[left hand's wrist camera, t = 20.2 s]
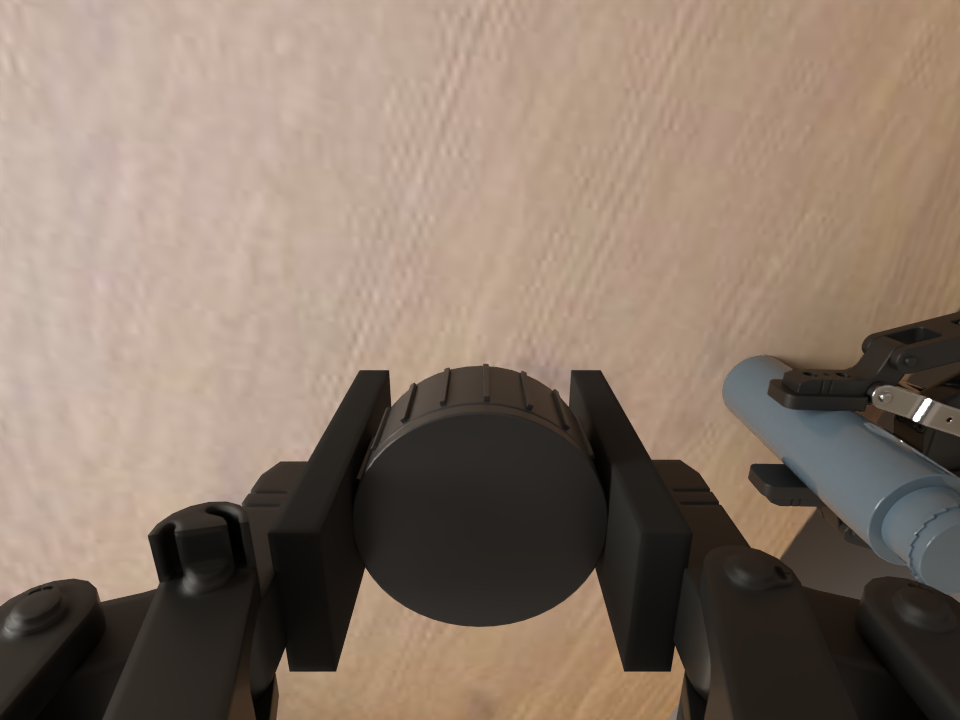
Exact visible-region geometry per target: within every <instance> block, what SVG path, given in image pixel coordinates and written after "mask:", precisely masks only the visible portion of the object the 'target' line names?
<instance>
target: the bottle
mask: <svg viewBox="0 0 960 720" xmlns="http://www.w3.org/2000/svg"><path fill="white" fill-rule="evenodd" d="M791 370H794V369H793V368H791V367H790V366H788V365H786V364H785V363H783V362H782V361H780V360H779V359H777V358H774V357H771V356H756V357H752V358H749V359H746V360H744V361H742V362H741V363H739V364H738V365H737V366H735V367H734V368H733V369H732V371H731V372H730V373H729V374H728V376H727V378H726V380H725V382H724V386H723V399H724V402H725V405H726V406H727V408H728V409H729V410H730V411H731V412H732V413H733V414H734V415H735V416H736V417H737V418H738V419H739V420H740V421H741V422H742V423H743V424H744V425H745V426H746V427H747V428H748V429H749V430H750V431H751V432H752V433H753V434H754V435H755V436H756V437H757V438H758V439H759V440H760V441H761V442H762V443H763V444H764V445H765V446H766V447H767V448H768V449H769V450H770V451H771V452H772V453H773V454H774V455H776V456H777V457H778V458H779V459H780V460H781V461H782V462H783V463H784V464H785V465H786V466H787V467H788V468H789V469H790V470H791V471H792V472H793V473H794V474H795V475H796V476H797V477H798V478H799V479H800V480H801V481H802V482H803V483H804V484H805V485H806V486H807V487H808V488H809V489H810V490H811V491H812V492H813V493H814V494H815V495H816V496H817V497H818V498H819V499H820V500H821V501H822V502H823V503H824V504H826V505H827V506H828V507H829V508H830V509H831V510H832V511H833V512H834V513H835V514H836V515H837V516H838V517H839V518H840V519H841V520H842V521H843V522H844V523H845V524H846V525H847V526H848V527H849V528H850V529H851V530H852V531H853V532H854V533H855V534H856V535H857V536H858V537H859V538H860V539H861V540H862V541H863V542H864V543H865V544H866V545H867V546H868V547H869V548H870V549H871V550H872V551H873V552H874V553H876V554H877V555H878V556H879V557H880V558H882V559H884V560H885V561H888V562H890V563H893V564H898V565H905V566H907V567H908V568H909V569H910V571H911V574H912V575H913V576H914V577H915V578H916V579H917V580H918V581H919V582H920V583H923V584H926V585H928V586H931V587H933V588H935V589H937V590H939V591H941V592H943V593H946V594H947V595H950V594H959V593H960V477H958V476H957V475H955V474H954V473H952V472H951V471H949V470H948V469H946V468H944V467H943V466H941V465H940V464H938V463H937V462H935V461H934V460H932V459H931V458H929V457H928V456H926V455H925V454H923V453H921V452H920V451H918V450H917V449H915V448H914V447H912V446H911V445H909V444H908V443H906V442H905V441H903V440H902V439H900V438H898V437H897V436H895V435H894V434H892V433H891V432H889V431H888V430H886V429H885V428H883V427H882V426H880V425H878V424H877V423H875V422H874V421H872V420H871V419H869V418H868V417H866V416H865V415H863V414H862V413H860V412H859V411H826V410H793V409H788V408H785V407H783V406H781V405H780V404H779V403H778V402H776V401H775V400H774V399H772V398H771V397H770V396H769V395H768V394H767V391H768V387H769V382H770V380H771V379H783V376H784V373H785V372H788V371H791Z"/></svg>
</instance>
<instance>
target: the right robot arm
mask: <svg viewBox="0 0 960 720" xmlns="http://www.w3.org/2000/svg"><path fill="white" fill-rule="evenodd" d="M862 351H863V353H864V355H863V356H862V358H861V359H860V361H859V362H858V363H857V364H856V365H855V366H854V367H851V368H848V369H847V370H814V369H808V370H807V369H794V370H791V371H788V372H785V373H784V376H783V379H771V380H770V382H769V387H768V391H767V394H768V395H769V396H770V397H771V398H772V399H774V400H775V401H776V402H778V403H779V404H780V405H781V406H783V407H785V408H788V409H793V410H826V411H865V408H866V405H867V404H869V405H873V406H875V407H876V408H878V409H881V410H885V411H888V412H891V413H894V414H896V415H895V418H894V433H893V434H894V435H895V436H897V437H898V438H900V439H902V440H903V441H905V442H906V443H908V444H909V445H911V446H912V447H914V448H915V449H917V450H918V451H920V452H921V453H923V454H925V455H926V456H928V457H929V458H931V459H932V460H934V461H935V462H937V463H938V464H940V465H941V466H943V467H944V468H946V469H948V470H949V471H951V472H952V473H954V474H955V475H957V476H958V477H960V370H959V371H958V372H956V373H954V374H952V375H950V376H948V377H947V378H945V379H943V380H941V381H939V382H937V383H935V384H933V385H932V386H930V387H928V388H923V387H920V386H917V385H914V384H911V383H908V382H905V381H902V380H901V379H902V377H903V376H904V375H905V374H909V373H914V372H918V371H922V370H926V369H930V368H934V367H938V366H942V365H946V364H950V363H954V362H958V361H960V312H956V313H952V314H948V315H945V316H941V317H937V318H933V319H929V320H925V321H921V322H917V323H913V324H909V325H905V326H902V327H898V328H894V329H890V330H886V331H882V332H878V333H874V334H871V335H869V336H868V337H867V338H866V339H865V340H864V341H863V344H862ZM748 479H749V480H750V481H751V483H752V484H753V485H754V486H755V487H756V488H757V490H758V491H759V492H760V493H761V494H762V495H764V496H766V497H767V498H768V500H769V501H770V502H771V503H774V504H776V505H779V506H813V507H817V511H818V512H819V513H820V514H821V515H822V516H823V517H824V518H825V519H827V520H828V521H829V522H830V523H831V524H832V525H833V526H834V527H835V528H836V529H837V530H838V531H839V533H840V535H841V536H842V537H843V538H844V539H845V540H846V541H847V542H849V543H852V544H856V545H859V546H863V547H866V548H869V547H868V546H867V545H866V544H865V543H864V542H863V541H862V540H861V539H860V538H859V537H858V536H857V535H856V534H855V533H854V532H853V531H852V530H851V529H850V528H849V527H848V526H847V525H846V524H845V523H844V522H843V521H842V520H841V519H840V518H839V517H838V516H837V515H836V514H835V513H834V512H833V511H832V510H831V509H830V508H829V507H828V506H827V505H826V504H824V503H823V502H822V501H821V500H820V499H819V498H818V497H817V496H816V495H815V494H814V493H813V492H812V491H811V490H810V489H809V488H808V487H807V486H806V485H805V484H804V483H803V482H802V481H801V480H800V479H799V478H798V477H797V476H796V475H795V474H794V473H793V472H792V471H791V470H790V469H789V468H788V467H787V466H786V465H785V464H752V465H751V467H750V471H749V476H748ZM869 549H870V548H869Z"/></svg>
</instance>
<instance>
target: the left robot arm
mask: <svg viewBox="0 0 960 720" xmlns="http://www.w3.org/2000/svg"><path fill="white" fill-rule="evenodd" d="M387 407H389V408H390V409H391V395H390V379H389V370H360V371H359V373H358V374H357V376H356V378H355V380H354V381H353V383H352V385H351V387H350V388H349V390H348V392H347V394H346V395H345V397H344V399H343V401H342V402H341V404H340V406H339V408H338V409H337V411H336V413H335V415H334V417H333V418H332V420H331V422H330V424H329V425H328V427H327V429H326V431H325V432H324V434H323V436H322V438H321V439H320V441H319V443H318V445H317V446H316V448H315V450H314V452H313V454H312V455H311V457H310V459H309V461H308V462H279V463H278V464H277V465H275V466H274V467H272V468H271V469H269V470H268V471H267V472H265V473H264V474H262V475H261V477H260V478H259V479H258V481H257V482H256V484H255V485H254V487H253V488H252V490H251V494H248V495H247V497H246V498H245V500H244V501H243V503H242V507H241V506H240V505H237V504H233V503H230V502H207V503H203V504H198V505H194V506H190V507H187V508H185V509H183V510H180V511H178V512H176V513H173V514H171V515H170V516H168V517H167V518H165V519H164V520H163V521H161V522H160V523H158V524H157V525H156V526H155V527H154V529H153V530H152V531H151V532H150V534H149V535H148V538H149V542H150V546H151V550H152V554H153V558H154V562H155V566H156V570H157V574H158V578H159V582H160V583H159V586H158V588H157V589H154V590H151V591H147V592H144V593H140V594H135V595H131V596H126V597H122V598H117V599H113V600H108V601H104V602H100V599H99V595H98V592H97V589H96V588H95V587H94V586H93V585H92V584H91V583H90V582H89V581H84V580H78V579H67V580H59V581H53V582H49V583H46V584H43V585H39V586H37V587H34V588H31V589H29V590H27V591H25V592H23V593H21V594H19V595H17V596H16V597H14V598H12V599H10V600H8V601H7V602H6V603H4V604H3V605H2V606H0V720H276V716H277V707H278V698H279V693H278V685H277V679H276V673H275V672H276V670H277V667H278V665H279V662H280V660H281V657H282V655H283V652H284V650H285V647H286V652H287V658H288V664H289V671H290V672H318V671H336V670H337V666H338V663H339V659H340V655H341V652H342V648H343V645H344V641H345V638H346V634H347V630H348V627H349V623H350V620H351V616H352V613H353V609H354V605H355V602H356V598H357V595H358V591H359V588H360V584H361V581H362V577H363V573H364V570H365V566H364V564H363V562H362V560H361V558H360V556H359V553H358V550H357V547H356V544H355V541H354V531H353V521H352V508H353V502H354V497H355V493H356V490H357V487H358V483H356V478H357V475H358V473H359V470H360V467H361V465H362V462H363V460H364V457H365V454H366V452H367V449H368V447H369V444H370V442H371V439H372V437H375V436H376V433H377V431H378V428H379V425H380V423H381V420H382V417H383V415H384V412H385V410H386V408H387ZM569 408H570V410H571V411H572V413H573V414H574V416H575V417H576V416H578V415H579V417H580V419H581V421H582V424H583V427H584V429H585V432H586V434H587V437H588V440H589V442H590V445H591V447H592V450H593V452H594V455H595V459H593V461H594V464H595V467H596V469H597V472H598V475H599V478H600V480H601V483H602V485H603V488H604V492H605V496H606V499H607V505H608V524H607V535H606V542H605V546H604V548H603V551H602V554H601V557H600V559H599V561H598V562H597V564H596V566H595V569H596V572H597V576H598V579H599V583H600V587H601V590H602V594H603V597H604V601H605V604H606V608H607V611H608V615H609V619H610V622H611V626H612V629H613V633H614V636H615V640H616V643H617V647H618V651H619V654H620V658H621V661H622V665H623V668H624V671H655V672H671V667H672V660H673V654H674V648H675V646H676V649H677V651H678V654H679V656H680V659H681V661H682V663H683V666H684V668H685V673H684V679H683V685H682V691H681V696H680V702H679V708H678V714H677V720H960V603H959V602H958V601H956V600H955V599H954V598H952V597H951V596H949V595H947V594H945V593H943V592H941V591H939V590H937V589H935V588H933V587H931V586H928V585H926V584H923V583H919V582H917V581H913V580H910V579H905V578H897V577H889V576H887V577H881V578H875V579H872V580H871V581H870V582H869V583H868V584H867V585H865V587H864V590H863V593H862V597H861V600H858V599H854V598H849V597H845V596H840V595H836V594H831V593H827V592H822V591H818V590H814V589H811V588H808V587H804V586H802V585H801V582H800V581H799V579H798V578H797V577H796V575H795V574H794V572H793V571H792V569H790V568H789V567H788V566H786V565H785V564H784V563H783V562H781V561H780V560H779V559H777V558H775V557H773V556H771V555H769V554H767V553H765V552H763V551H761V550H757V549H753V548H751V547H750V546H749V544H748V543H747V541H746V540H745V539H744V537H743V536H742V534H741V533H740V531H739V530H738V529H737V527H736V526H735V524H734V523H733V521H732V520H731V518H730V517H729V516H728V514H727V513H726V511H725V510H724V508H723V507H722V505H719V501H718V500H717V498H716V497H715V495H714V494H713V493H712V492H710V488H709V487H708V485H707V484H706V482H705V481H704V480H703V478H702V477H701V475H700V474H699V473H698V472H697V471H695V470H694V469H692V468H691V467H689V466H688V465H687V464H685V463H684V462H682V461H681V460H651V458H650V456H649V455H648V453H647V451H646V449H645V448H644V446H643V444H642V442H641V441H640V439H639V437H638V435H637V434H636V432H635V430H634V428H633V426H632V425H631V423H630V421H629V419H628V418H627V416H626V414H625V412H624V411H623V409H622V407H621V405H620V404H619V402H618V400H617V398H616V397H615V395H614V393H613V391H612V390H611V388H610V386H609V384H608V382H607V381H606V379H605V377H604V375H603V374H602V372H601V370H571V384H570V400H569Z"/></svg>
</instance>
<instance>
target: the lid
mask: <svg viewBox="0 0 960 720" xmlns="http://www.w3.org/2000/svg"><path fill="white" fill-rule="evenodd" d="M593 459H595V455H594V452H593V450H592V447H591V445H590V442H589V440H588V437H587V434H586V432H585V429H584V427H583V424H582V421H581V419H580V417H579V415H578V416H576V417H575V416H574V414H573V413H572V411H571V410H570V408H569V407H568V406H567V405H566V403H565V402H564V401H563V400H562V399H561V398H560V395H559V392H558V391H557V390H556V389H554V390H553V391H552V390H551V389H550V388H548V387H547V386H545V385H544V384H542V383H541V382H539V381H537V380H535V379H533V378H531V377H529V376H527V374H526V372H524V371H521V373H519V372H516V371H513V370H509V369H504V368H499V367H489V364H483V366H471V367H462V368H456V369H451V370H450V368H446V369H445V370H444V372H441V373H438V374H436V375H434V376H431V377H429V378H427V379H425V380H423V381H422V382H420V383H418V384H417V385H416V384H415V383H413V384H412V385H410V389H409V390H408V391H407V392H406V393H405V394H403V395H402V396H401V397H400V398H399V399H398V400H397V402H396V403H395V404H394V405H393V406H392V407H391V409H390V408H389V407H387V408H386V410H385V412H384V415H383V417H382V420H381V423H380V425H379V428H378V431H377V433H376V436H375V437H372V439H371V442H370V444H369V447H368V449H367V452H366V454H365V457H364V460H363V462H362V465H361V467H360V470H359V473H358V475H357V478H356V483H358V487H357V490H356V493H355V497H354V502H353V508H352V521H353V531H354V541H355V544H356V547H357V550H358V553H359V556H360V558H361V560H362V562H363V564H364V566H365V567H366V569H367V570H368V572H369V573H370V575H371V576H372V578H373V579H374V580H375V581H376V582H377V584H378V585H379V586H380V587H381V588H382V589H383V590H384V591H385V592H386V593H388V594H389V595H390V596H391V597H392V598H393V599H395V600H396V601H398V602H399V603H401V604H402V605H404V606H405V607H407V608H409V609H411V610H413V611H415V612H416V613H418V614H421V615H423V616H426V617H428V618H431V619H434V620H437V621H441V622H445V623H449V624H455V625H461V626H474V627H486V626H499V625H506V624H511V623H515V622H519V621H523V620H526V619H529V618H532V617H535V616H537V615H540V614H542V613H544V612H546V611H548V610H550V609H552V608H553V607H555V606H557V605H558V604H560V603H561V602H563V601H564V600H566V599H567V598H568V597H569V596H570V595H572V594H573V593H574V592H575V591H576V590H577V589H578V588H579V587H580V586H581V585H582V584H583V583H584V582H585V581H586V579H587V578H588V577H589V575H590V574H591V573H592V571H593V570H594V568H595V566H596V564H597V562H598V561H599V559H600V557H601V554H602V551H603V548H604V546H605V542H606V535H607V524H608V505H607V499H606V496H605V492H604V488H603V485H602V483H601V480H600V478H599V475H598V472H597V469H596V467H595V464H594V461H593Z"/></svg>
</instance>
